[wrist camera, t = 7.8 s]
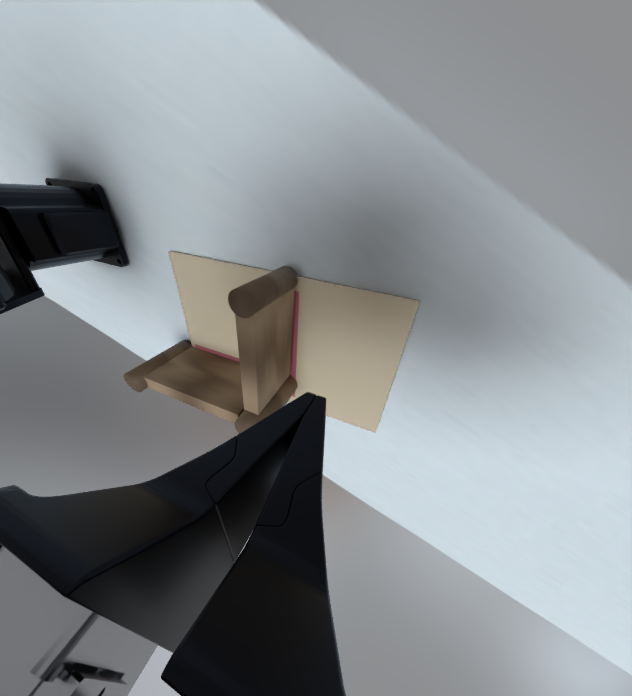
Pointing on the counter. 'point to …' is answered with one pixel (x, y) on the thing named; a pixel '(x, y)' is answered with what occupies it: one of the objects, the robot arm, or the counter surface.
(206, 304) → the card
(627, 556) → the counter surface
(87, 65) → the counter surface
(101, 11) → the counter surface
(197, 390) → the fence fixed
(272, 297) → the fence gate
